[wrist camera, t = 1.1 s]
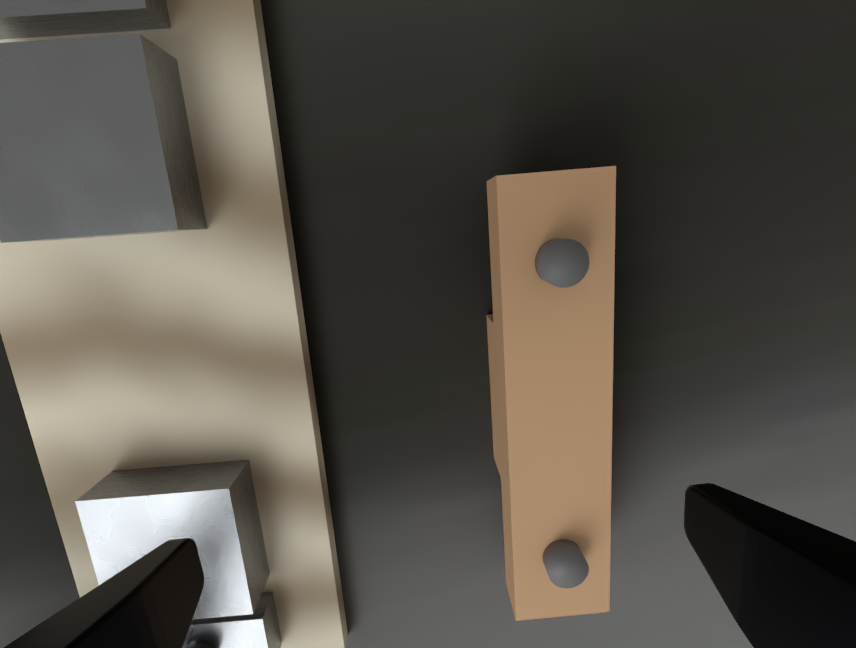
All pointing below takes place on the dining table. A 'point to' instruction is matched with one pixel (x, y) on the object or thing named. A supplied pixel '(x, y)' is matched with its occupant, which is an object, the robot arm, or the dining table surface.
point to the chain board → (188, 331)
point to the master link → (553, 384)
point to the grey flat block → (92, 124)
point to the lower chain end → (204, 523)
